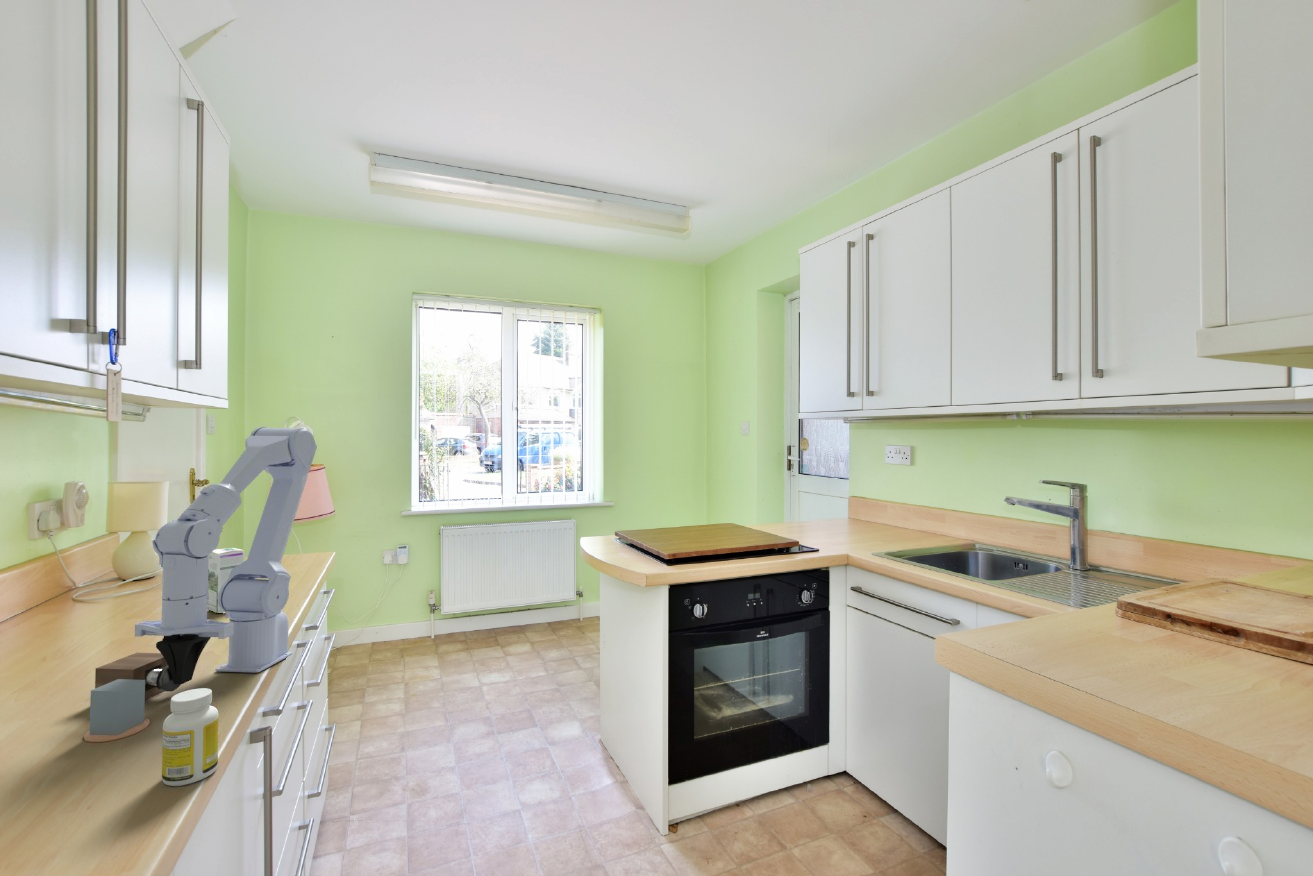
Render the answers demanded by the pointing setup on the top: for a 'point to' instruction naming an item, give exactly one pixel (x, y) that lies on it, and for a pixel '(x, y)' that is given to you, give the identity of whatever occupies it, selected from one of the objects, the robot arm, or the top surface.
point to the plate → (112, 737)
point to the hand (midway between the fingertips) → (182, 681)
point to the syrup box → (221, 572)
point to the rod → (161, 679)
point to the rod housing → (131, 670)
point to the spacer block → (117, 707)
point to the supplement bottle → (190, 738)
